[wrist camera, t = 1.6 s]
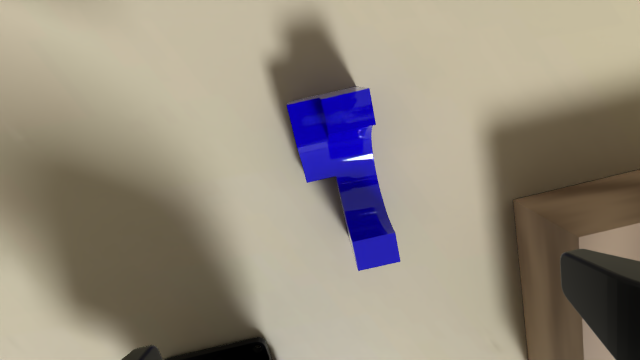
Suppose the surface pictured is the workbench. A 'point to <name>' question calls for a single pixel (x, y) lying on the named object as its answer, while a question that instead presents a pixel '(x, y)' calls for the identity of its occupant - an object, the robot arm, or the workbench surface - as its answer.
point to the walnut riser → (566, 235)
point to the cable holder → (347, 166)
